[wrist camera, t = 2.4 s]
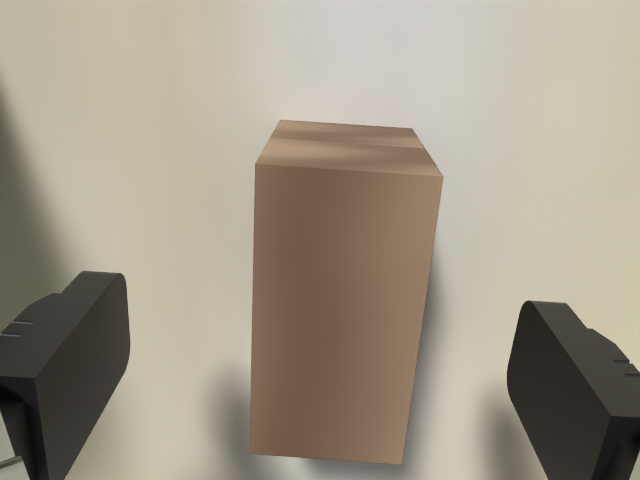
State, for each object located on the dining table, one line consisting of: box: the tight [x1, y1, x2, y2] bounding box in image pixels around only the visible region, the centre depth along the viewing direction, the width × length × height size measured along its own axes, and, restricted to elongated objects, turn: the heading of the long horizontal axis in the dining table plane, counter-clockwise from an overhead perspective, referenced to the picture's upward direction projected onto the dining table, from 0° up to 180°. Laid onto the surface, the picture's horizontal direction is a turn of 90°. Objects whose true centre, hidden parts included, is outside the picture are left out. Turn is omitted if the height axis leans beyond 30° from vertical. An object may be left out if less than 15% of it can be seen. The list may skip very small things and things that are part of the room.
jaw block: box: [250, 120, 443, 465], centre depth 14 cm, size 4×7×5 cm, turn 176°
